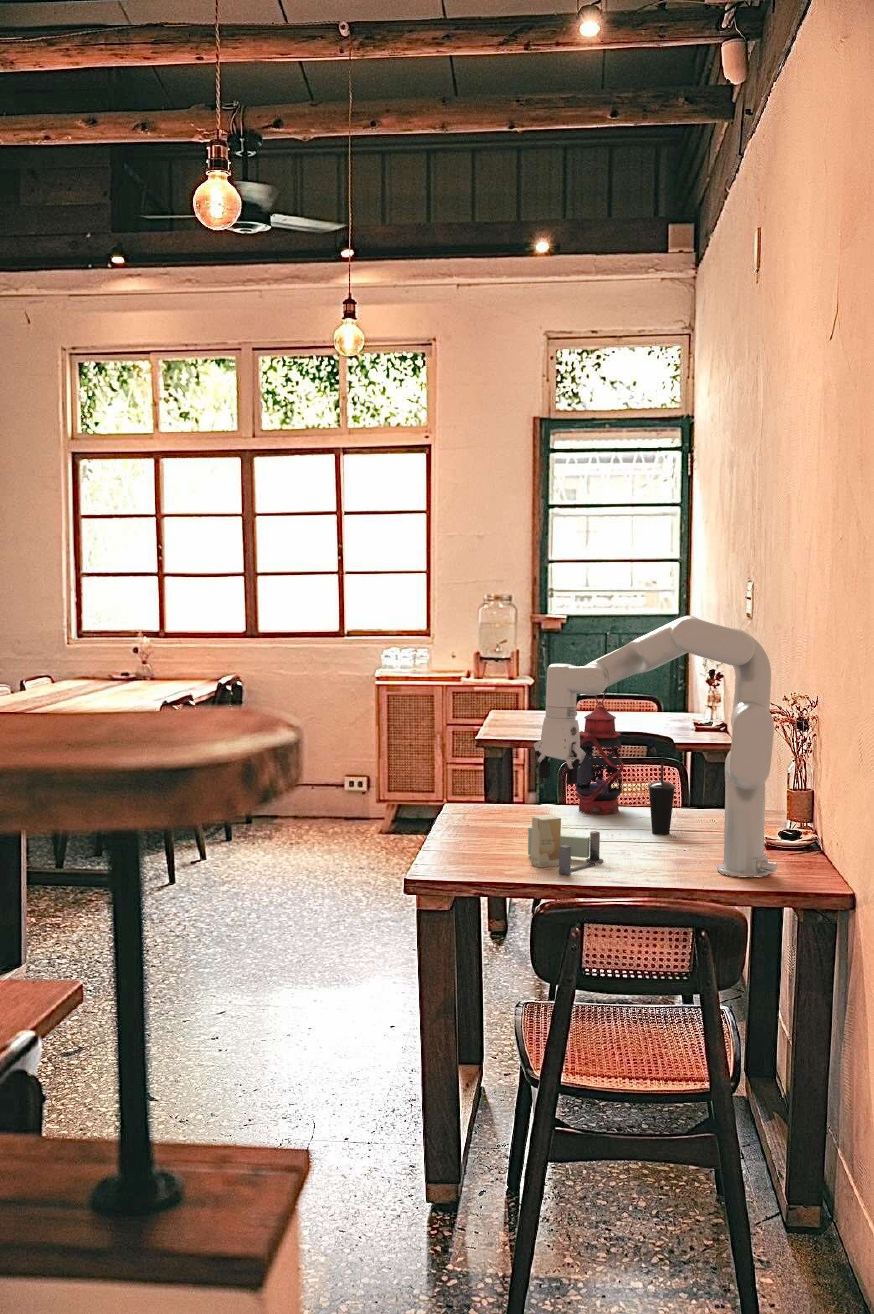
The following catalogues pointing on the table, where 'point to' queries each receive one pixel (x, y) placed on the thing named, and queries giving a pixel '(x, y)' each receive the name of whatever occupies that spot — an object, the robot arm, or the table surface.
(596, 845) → the dark grey rounded knob
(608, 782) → the lantern
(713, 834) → the table surface
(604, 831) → the table surface
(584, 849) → the gate
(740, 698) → the robot arm
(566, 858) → the latch post
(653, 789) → the drinking cup
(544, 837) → the skincare box
